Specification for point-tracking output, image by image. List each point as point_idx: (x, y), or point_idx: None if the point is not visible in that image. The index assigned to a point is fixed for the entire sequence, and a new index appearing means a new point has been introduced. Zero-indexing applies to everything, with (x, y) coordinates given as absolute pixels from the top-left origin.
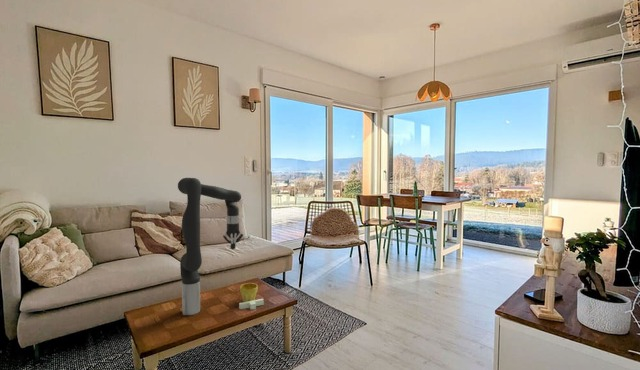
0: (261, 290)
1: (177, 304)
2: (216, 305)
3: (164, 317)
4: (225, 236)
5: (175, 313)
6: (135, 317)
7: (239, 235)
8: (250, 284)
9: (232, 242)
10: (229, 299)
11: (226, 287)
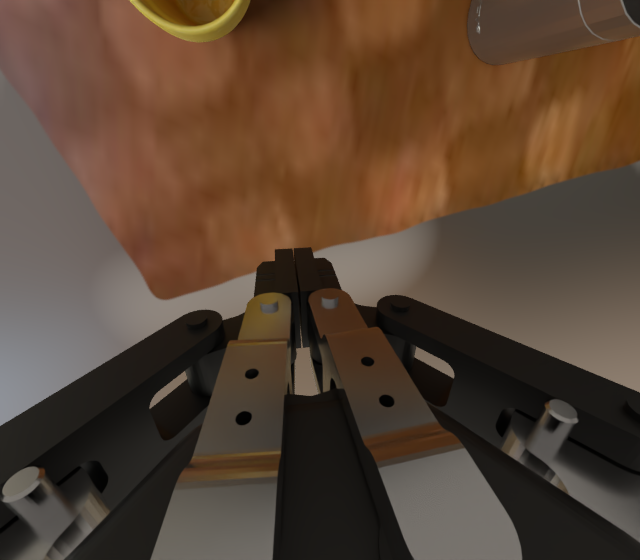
0: (121, 142)
1: (523, 142)
2: (384, 35)
3: None
4: (579, 445)
5: None
6: None
7: (62, 512)
8: (165, 20)
9: (321, 305)
10: (308, 90)
11: None
